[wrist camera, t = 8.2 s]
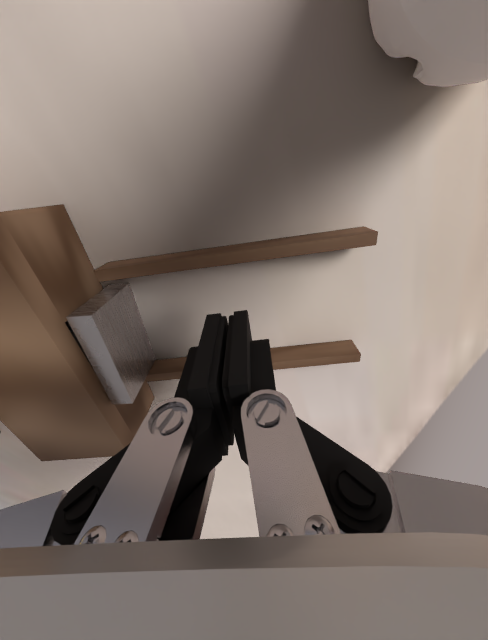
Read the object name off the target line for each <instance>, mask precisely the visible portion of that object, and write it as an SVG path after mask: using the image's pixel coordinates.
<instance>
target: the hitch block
mask: <svg viewBox="0 0 488 640" xmlns="http://www.w3.org/2000/svg"><path fill="white" fill-rule="evenodd" d="M377 235H378V232H377V231H375V230H372V229H369V228H367V227H357V228H350V229H343V230H336V231H328V232H321V233H314V234H307V235H300V236H293V237H286V238H278V239H271V240H264V241H257V242H250V243H243V244H235V245H228V246H221V247H214V248H207V249H200V250H192V251H185V252H178V253H171V254H164V255H157V256H149V257H142V258H135V259H128V260H121V261H114V262H108V263H106V264H104V265H103V266H101V267H99V268H97V269H96V270H94V269H93V266H92V264H91V262H90V260H89V258H88V256H87V254H86V252H85V250H84V247H83V245H82V243H81V241H80V239H79V237H78V235H77V233H76V230H75V228H74V226H73V224H72V222H71V220H70V218H69V216H68V214H67V211H66V209H65V207H64V205H54V206H46V207H38V208H29V209H21V210H13V211H4V212H0V421H1V422H2V423H3V424H4V425H5V426H6V427H7V428H8V429H9V430H10V431H11V432H12V433H13V434H15V435H16V436H17V437H18V438H19V439H20V440H21V441H22V442H23V443H24V444H25V445H26V446H27V447H28V448H29V449H30V450H31V451H32V452H33V453H34V454H35V455H36V456H37V457H38V458H39V459H40V460H41V461H52V460H66V459H80V458H95V457H109V456H114V455H116V454H117V453H118V452H119V451H121V450H122V449H123V448H125V447H126V446H127V445H129V444H130V443H131V442H132V440H133V438H134V437H135V435H136V433H137V431H138V429H139V428H140V426H141V424H142V422H143V421H144V419H145V417H146V415H147V413H148V411H149V409H150V406H151V404H152V402H153V400H154V396H153V393H152V391H151V389H150V387H149V385H148V383H147V382H150V381H161V380H171V379H180V378H181V375H182V371H183V368H184V365H185V362H186V359H187V357H180V358H170V359H161V360H155V361H154V363H153V365H152V367H151V369H150V371H149V373H148V375H147V377H146V379H145V381H144V383H143V384H142V386H141V388H140V390H139V392H138V394H137V396H136V398H135V400H134V402H133V403H132V404H112V403H111V401H110V399H109V397H108V395H107V393H106V391H105V390H104V388H103V386H102V384H101V382H100V380H99V378H98V376H97V375H96V373H95V372H94V370H93V369H92V367H91V365H90V364H89V362H88V360H87V359H86V357H85V355H84V354H83V352H82V350H81V349H80V347H79V346H78V344H77V342H76V341H75V339H74V337H73V336H72V334H71V332H70V331H69V329H68V327H67V326H66V324H65V322H66V321H67V318H66V317H67V316H68V315H70V314H71V313H72V312H74V311H75V310H76V309H78V308H79V307H80V306H82V305H83V304H84V303H86V302H87V301H88V300H90V299H91V298H92V297H94V296H95V295H96V294H98V293H99V292H100V291H102V290H103V288H102V286H101V283H100V282H102V281H109V280H117V279H124V278H132V277H139V276H147V275H154V274H162V273H169V272H177V271H184V270H192V269H199V268H207V267H214V266H222V265H229V264H237V263H244V262H252V261H259V260H267V259H274V258H282V257H290V256H297V255H305V254H312V253H320V252H327V251H335V250H342V249H350V248H357V247H365V246H372V245H376V243H377ZM270 351H271V359H272V366H273V370H276V369H286V368H297V367H307V366H318V365H328V364H338V363H349V362H359V361H360V356H361V354H360V352H359V351H358V349H357V347H356V346H355V344H354V343H353V341H352V340H345V341H336V342H326V343H316V344H306V345H297V346H287V347H277V348H270Z"/></svg>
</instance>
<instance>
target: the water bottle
mask: <svg viewBox="0 0 488 640" xmlns="http://www.w3.org/2000/svg"><path fill="white" fill-rule="evenodd" d="M368 6H369V16H370V21H371V26H372V31H373V35H374V38H375V40H376V42H377V43H378V44H379V45H380V46H381V48H382V49H383V50H384V52H385V53H386V54H387V55H389V56H390V57H394V58H402V57H411V58H414V59H416V60H418V63H417V67H416V69H415V71H414V74H413V77H414V78H417V79H418V81H420V82H421V83H423V84H424V85H429V86H440V87H449V86H456V85H464V84H471V83H478V82H481V81H484V80H487V79H488V0H368Z"/></svg>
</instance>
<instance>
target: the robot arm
mask: <svg viewBox="0 0 488 640" xmlns="http://www.w3.org/2000/svg"><path fill="white" fill-rule="evenodd" d="M234 434H235V438H236V442H237V445H238V449H239V452H240V456H241V459H242V460H243V461H244V462H245V463H246V464H247V465H248V466H249V471H250V478H251V484H252V491H253V497H254V504H255V510H256V517H257V523H258V530H259V536H260V537H246V538H221V539H200V535H201V531H202V527H203V523H204V518H205V514H206V510H207V506H208V501H209V497H210V493H211V489H212V484H213V480H214V476H215V466H216V465H217V464H218V463H219V462H220V461H221V460H222V456H225V455H228V445H233V443H234ZM0 640H488V488H485V487H482V486H478V485H472V484H467V483H461V482H454V481H449V480H444V479H438V478H432V477H426V476H420V475H415V474H408V473H403V472H398V471H392V470H390V473H389V474H388V473H383V472H377V471H375V470H374V469H373V468H371V467H370V466H369V465H368V464H366V463H365V462H363V461H362V460H360V459H359V458H357V457H356V456H354V455H353V454H351V453H350V452H348V451H347V450H345V449H344V448H342V447H341V446H339V445H338V444H336V443H335V442H333V441H332V440H330V439H329V438H327V437H326V436H324V435H323V434H321V433H320V432H319V431H317V430H316V429H314V428H313V427H311V426H310V425H308V424H307V423H305V422H304V421H302V420H301V419H299V418H298V417H296V415H295V413H294V410H293V408H292V405H291V403H290V401H289V400H288V398H287V397H286V396H285V395H283V394H282V393H280V392H278V391H276V387H275V380H274V373H273V366H272V359H271V351H270V344H269V339H264V340H255V341H252V338H251V331H250V324H249V318H248V312H247V310H244V311H236V312H234V315H231V316H229V323H227V318H226V316H221V314H220V313H219V314H210V315H207V316H206V320H205V324H204V328H203V331H202V335H201V339H200V342H199V346H198V347H191V348H190V350H189V352H188V355H187V359H186V362H185V365H184V368H183V371H182V375H181V378H180V381H179V384H178V387H177V390H176V394H175V397H174V398H170V399H167V400H164V401H162V402H160V403H158V404H157V405H156V406H154V407H153V408H152V409H151V410H150V411H149V413H148V414H147V415H146V417H145V419H144V421H143V422H142V424H141V426H140V428H139V429H138V431H137V433H136V435H135V437H134V438H133V440H132V442H131V443H130V444H129V445H127V446H126V447H125V448H123V449H122V450H121V451H119V452H118V453H117V454H116V455H114V456H113V457H112V458H110V459H109V460H108V461H106V462H105V463H104V464H103V465H101V466H100V467H99V468H97V469H96V470H95V471H93V472H92V473H91V474H90V475H88V476H87V477H86V478H84V479H83V480H82V481H80V482H79V483H78V484H77V485H76V486H74V487H73V488H72V489H71V490H70V491H69V492H68V493H66V492H65V491H64V490H62V491H59V492H56V493H53V494H49V495H46V496H43V497H40V498H36V499H33V500H30V501H27V502H24V503H20V504H17V505H14V506H11V507H8V508H4V509H1V510H0Z"/></svg>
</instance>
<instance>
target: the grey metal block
mask: <svg viewBox="0 0 488 640" xmlns="http://www.w3.org/2000/svg"><path fill="white" fill-rule="evenodd" d="M66 318H67V321H66V322H65V324H66V326H67V327H68V329H69V331H70V332H71V334H72V336H73V337H74V339H75V341H76V342H77V344H78V346H79V347H80V349H81V350H82V352H83V354H84V355H85V357H86V359H87V360H88V362H89V364H90V365H91V367H92V369H93V370H94V372H95V373H96V375H97V376H98V378H99V380H100V382H101V384H102V386H103V388H104V390H105V391H106V393H107V395H108V397H109V399H110V401H111V403H112V404H132V403H133V402H134V400H135V398H136V396H137V394H138V392H139V390H140V388H141V386H142V384H143V383H144V381H145V379H146V377H147V375H148V373H149V371H150V369H151V367H152V365H153V363H154V361H155V356H154V353H153V350H152V347H151V344H150V342H149V339H148V336H147V333H146V330H145V327H144V324H143V321H142V318H141V315H140V313H139V310H138V307H137V304H136V301H135V298H134V295H133V292H132V289H131V287H130V284H129V283H123V284H110V285H108V286H107V287H106V288H104V289H103V290H102V291H100V292H99V293H98V294H96V295H95V296H94V297H92V298H91V299H90V300H88V301H87V302H86V303H84V304H83V305H82V306H80V307H79V308H78V309H76V310H75V311H74V312H72V313H71V314H70V315H68V316H67V317H66Z"/></svg>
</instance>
